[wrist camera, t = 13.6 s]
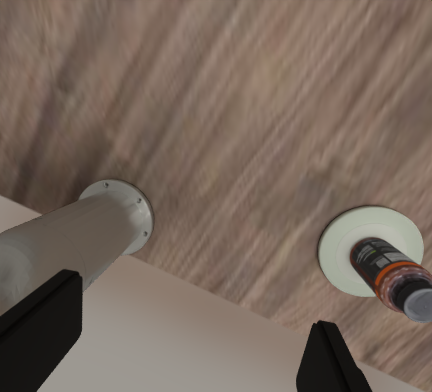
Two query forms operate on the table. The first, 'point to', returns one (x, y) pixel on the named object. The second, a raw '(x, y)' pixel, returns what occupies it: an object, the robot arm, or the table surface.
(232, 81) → the table surface
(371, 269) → the supplement bottle
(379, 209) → the dish
